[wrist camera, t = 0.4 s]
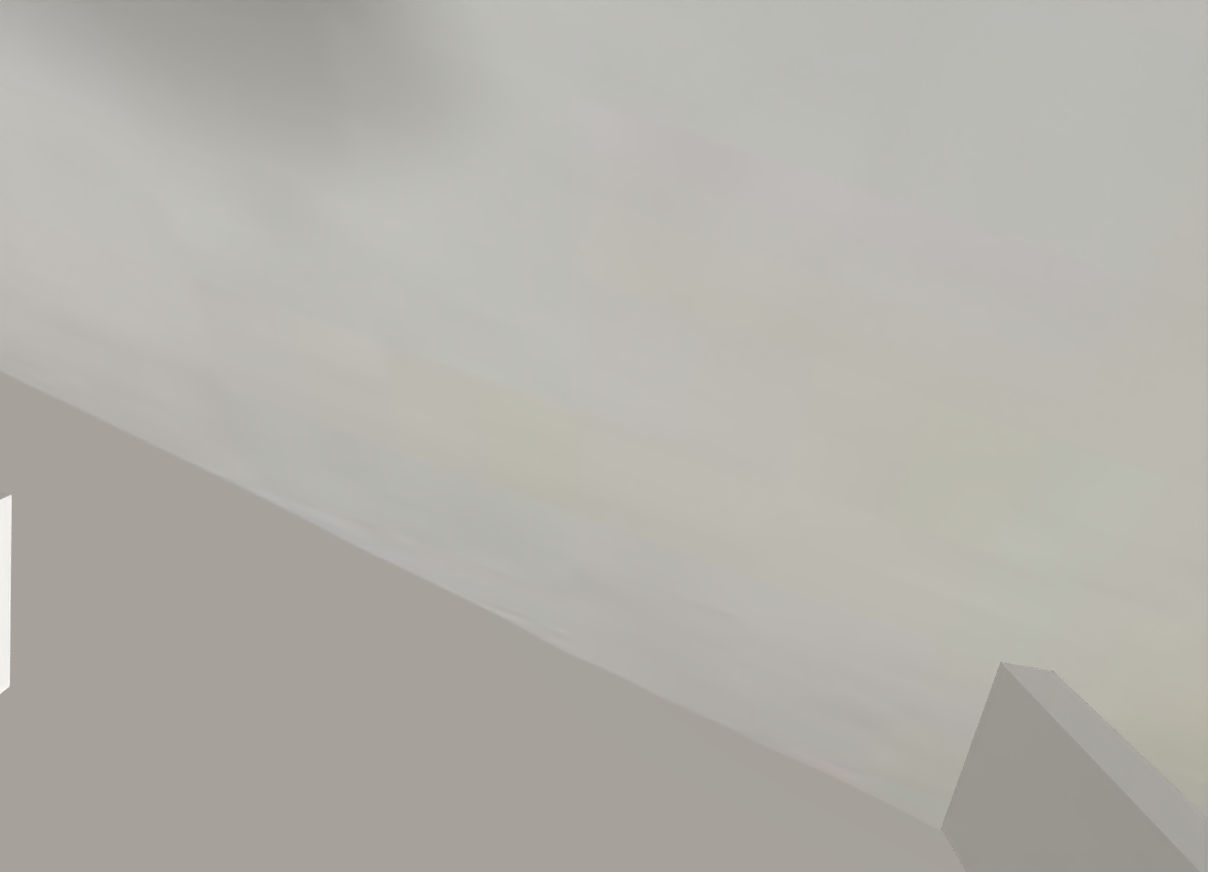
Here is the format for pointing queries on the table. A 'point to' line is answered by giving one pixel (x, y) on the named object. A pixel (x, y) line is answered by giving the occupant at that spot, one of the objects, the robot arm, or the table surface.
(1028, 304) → the table surface
